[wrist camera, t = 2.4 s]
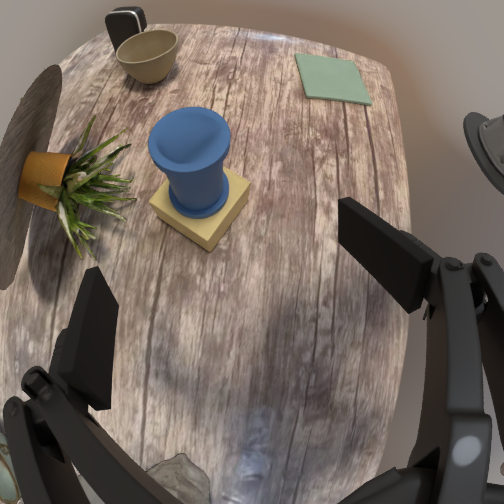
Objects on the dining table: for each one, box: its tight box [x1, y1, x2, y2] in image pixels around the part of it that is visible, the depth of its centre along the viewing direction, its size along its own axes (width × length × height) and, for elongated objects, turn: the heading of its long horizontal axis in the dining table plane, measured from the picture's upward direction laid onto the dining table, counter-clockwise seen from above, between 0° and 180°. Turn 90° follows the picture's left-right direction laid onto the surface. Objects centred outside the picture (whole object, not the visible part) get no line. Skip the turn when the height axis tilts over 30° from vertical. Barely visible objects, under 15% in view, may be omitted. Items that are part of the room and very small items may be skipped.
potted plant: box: [0, 65, 137, 290], centre depth 27 cm, size 25×18×25 cm
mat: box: [294, 53, 372, 106], centre depth 42 cm, size 12×12×1 cm
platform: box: [149, 166, 251, 252], centre depth 32 cm, size 8×8×5 cm
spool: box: [148, 107, 230, 219], centre depth 25 cm, size 6×6×10 cm
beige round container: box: [116, 29, 178, 84], centre depth 36 cm, size 10×10×7 cm
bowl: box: [0, 432, 22, 504], centre depth 19 cm, size 14×14×8 cm
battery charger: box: [105, 7, 147, 53], centre depth 36 cm, size 7×4×11 cm, turn 72°
